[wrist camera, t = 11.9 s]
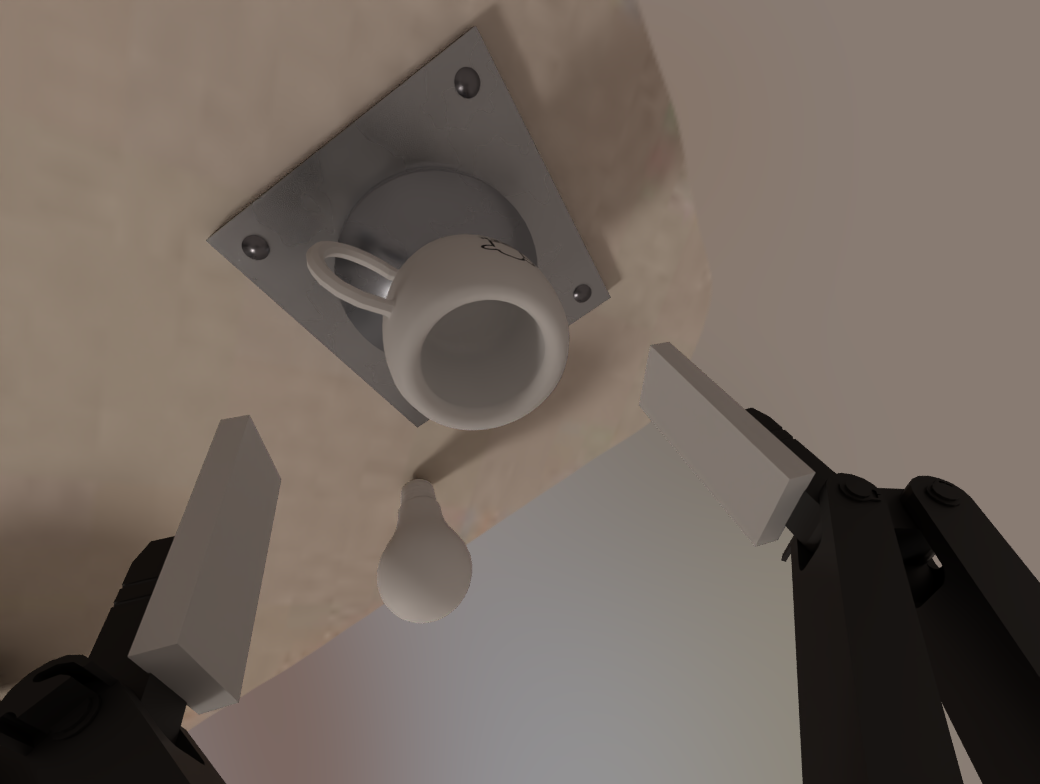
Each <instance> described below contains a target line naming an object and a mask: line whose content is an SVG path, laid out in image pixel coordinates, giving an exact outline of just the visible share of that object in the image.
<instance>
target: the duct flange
mask: <svg viewBox="0 0 1040 784" xmlns="http://www.w3.org/2000/svg"><path fill="white" fill-rule="evenodd" d="M459 234H472V235H481V236H485V237H489V238H493V239H496V240H498V241H501V242H503V243H505V244H508V245H510V246H511V247H513V248H514V249H516V250H517V251H519V252H520V253H522V254H523V255H525V256H526V257H527V258H528V259H529V260H530V261H531V262H532V263H533V264H534V265H535V266H536V267H537V268H538V269H539V270H540V271H541V272H542V273H543V275H544V276H545V277H546V279H547V280H548V281H549V283H550V284H551V286H552V287H553V289H554V290H555V292H556V294H557V296H558V298H559V300H560V302H561V304H562V307H563V309H564V311H565V315H566V318H567V321H568V326H569V325H571V324H572V323H574V322H575V321H576V320H578V319H579V318H581V317H582V316H584V315H585V314H587V313H588V312H590V311H591V310H593V309H594V308H596V307H597V306H599V305H600V304H602V303H603V302H605V301H606V300H608V299H609V298H611V297H610V295H609V293H608V291H607V289H606V287H605V285H604V283H603V281H602V279H601V277H600V275H599V273H598V271H597V269H596V267H595V265H594V263H593V261H592V259H591V257H590V255H589V253H588V251H587V249H586V247H585V245H584V243H583V241H582V239H581V237H580V235H579V233H578V231H577V228H576V226H575V224H574V222H573V220H572V218H571V216H570V214H569V212H568V210H567V208H566V206H565V204H564V202H563V200H562V198H561V196H560V194H559V192H558V190H557V188H556V186H555V184H554V182H553V180H552V178H551V176H550V174H549V172H548V170H547V168H546V166H545V164H544V162H543V160H542V158H541V156H540V154H539V152H538V150H537V148H536V146H535V144H534V142H533V140H532V138H531V136H530V134H529V132H528V130H527V128H526V126H525V124H524V122H523V120H522V118H521V116H520V114H519V112H518V110H517V108H516V106H515V104H514V102H513V100H512V98H511V96H510V94H509V92H508V90H507V88H506V86H505V84H504V82H503V80H502V78H501V76H500V74H499V72H498V70H497V68H496V66H495V64H494V62H493V60H492V58H491V56H490V54H489V52H488V50H487V47H486V45H485V43H484V41H483V39H482V37H481V35H480V33H479V31H478V29H477V27H476V26H474V27H472V28H471V29H469V30H468V31H467V32H466V33H464V34H463V35H462V36H461V37H459V38H458V39H457V40H455V41H454V42H453V43H452V44H450V45H449V46H448V47H447V48H445V49H444V50H443V51H442V52H440V53H439V54H438V55H437V56H435V57H434V58H433V59H432V60H430V61H429V62H428V63H427V64H425V65H424V66H423V67H422V68H420V69H419V70H418V71H417V72H415V73H414V74H413V75H412V76H410V77H409V78H408V79H407V80H405V81H404V82H403V83H402V84H400V85H399V86H398V87H396V88H395V89H394V90H393V91H391V92H390V93H389V94H388V95H386V96H385V97H384V98H383V99H381V100H380V101H379V102H378V103H376V104H375V105H374V106H373V107H371V108H370V109H369V110H368V111H366V112H365V113H364V114H363V115H361V116H360V117H359V118H358V119H356V120H355V121H354V122H353V123H351V124H350V125H349V126H348V127H346V128H345V129H344V130H343V131H341V132H340V133H339V134H337V135H336V136H335V137H334V138H332V139H331V140H330V141H329V142H327V143H326V144H325V145H324V146H322V147H321V148H320V149H319V150H317V151H316V152H315V153H314V154H312V155H311V156H310V157H309V158H307V159H306V160H305V161H304V162H302V163H301V164H300V165H299V166H297V167H296V168H295V169H294V170H292V171H291V172H290V173H289V174H287V175H286V176H285V177H284V178H282V179H281V180H280V181H278V182H277V183H276V184H275V185H273V186H272V187H271V188H270V189H268V190H267V191H266V192H265V193H263V194H262V195H261V196H260V197H258V198H257V199H256V200H255V201H253V202H252V203H251V204H250V205H248V206H247V207H246V208H245V209H243V210H242V211H241V212H240V213H238V214H237V215H236V216H235V217H233V218H232V219H231V220H230V221H228V222H227V223H226V224H225V225H223V226H222V227H221V228H220V229H218V230H217V231H216V232H214V233H213V234H212V235H211V236H210V237H209V238H208V239H207V240H206V241H207V242H208V243H209V244H210V245H211V246H212V247H214V248H215V249H216V250H217V251H218V252H219V253H220V254H222V255H223V256H224V257H225V258H226V259H227V260H228V261H229V262H231V263H232V264H233V265H234V266H235V267H236V268H237V269H239V270H240V271H241V272H242V273H243V274H244V275H245V276H246V277H248V278H249V279H250V280H251V281H252V282H253V283H254V284H256V285H257V286H258V287H259V288H260V289H261V290H262V291H263V292H265V293H266V294H267V295H268V296H269V297H270V298H271V299H272V300H274V301H275V302H276V303H277V304H278V305H279V306H280V307H282V308H283V309H284V310H285V311H286V312H287V313H288V314H289V315H291V316H292V317H293V318H294V319H295V320H296V321H297V322H299V323H300V324H301V325H302V326H303V327H304V328H305V329H306V330H308V331H309V332H310V333H311V334H312V335H313V336H314V337H316V338H317V339H318V340H319V341H320V342H321V343H322V344H323V345H325V346H326V347H327V348H328V349H329V350H330V351H331V352H333V353H334V354H335V355H336V356H337V357H338V358H339V359H340V360H342V361H343V362H344V363H345V364H346V365H347V366H348V367H349V368H351V369H352V370H353V371H354V372H355V373H356V374H357V375H359V376H360V377H361V378H362V379H363V380H364V381H365V382H366V383H368V384H369V385H370V386H371V387H372V388H373V389H374V390H376V391H377V392H378V393H379V394H380V395H381V396H382V397H383V398H385V399H386V400H387V401H388V402H389V403H390V404H391V405H393V406H394V407H395V408H396V409H397V410H398V411H399V412H400V413H402V414H403V415H404V416H405V417H406V418H407V419H408V420H409V421H411V422H412V423H413V424H414V425H415V426H416V427H419V426H420V425H422V424H423V423H425V422H426V421H428V420H429V418H427V417H426V416H424V415H423V414H422V413H420V412H419V411H418V410H416V409H415V408H414V407H413V406H412V405H411V404H410V403H409V402H408V401H407V400H406V399H405V398H404V397H403V396H402V394H401V393H400V391H399V390H398V388H397V387H396V385H395V383H394V380H393V378H392V375H391V373H390V370H389V367H388V364H387V361H386V356H385V352H384V345H383V332H382V323H383V315H382V314H378V313H375V312H372V311H368V310H365V309H362V308H359V307H356V306H354V305H352V304H350V303H348V302H346V301H344V300H342V299H340V298H338V297H336V296H335V295H333V294H332V293H331V292H329V291H328V290H327V289H325V288H324V287H323V286H321V285H320V284H319V283H318V282H317V280H316V279H315V278H314V277H313V276H312V275H311V273H310V271H309V269H308V267H307V260H306V253H307V251H308V249H309V248H310V247H311V246H313V245H314V244H315V243H317V242H320V241H334V242H339V243H343V244H347V245H350V246H353V247H356V248H359V249H361V250H363V251H366V252H368V253H370V254H372V255H374V256H376V257H378V258H380V259H382V260H383V261H385V262H387V263H388V264H390V265H391V266H393V267H395V268H396V269H398V270H399V269H400V268H401V267H402V266H403V264H404V263H405V262H406V261H407V259H408V258H410V257H411V256H412V255H413V254H414V253H415V252H416V251H417V250H419V249H420V248H422V247H423V246H425V245H426V244H428V243H430V242H432V241H434V240H436V239H439V238H442V237H446V236H450V235H459ZM324 260H325V262H326V264H327V266H328V267H329V268H330V270H331V271H332V272H333V273H334V274H335V275H336V276H338V277H339V278H340V279H341V280H343V281H344V282H346V283H348V284H350V285H352V286H354V287H356V288H358V289H360V290H362V291H364V292H367V293H370V294H373V295H376V296H379V297H382V298H385V299H386V297H387V294H388V291H389V288H390V286H391V283H392V281H391V280H388V279H386V278H385V277H383V276H382V275H380V274H378V273H377V272H375V271H373V270H371V269H369V268H367V267H365V266H363V265H360V264H358V263H356V262H353V261H350V260H347V259H344V258H340V257H327V258H325V259H324Z"/></svg>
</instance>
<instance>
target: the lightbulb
mask: <svg viewBox="0 0 1040 784" xmlns="http://www.w3.org/2000/svg"><path fill="white" fill-rule="evenodd" d="M471 576H472V561H471V556H470V553H469V551H468V549H467V547H466V545H465V543H464V541H463V540H462V539H461V538H460V537H459V535H458V534H457V533H456V532H455V531H454V530H453V529H452V528H451V527H450V526H449V525H448V524H447V523H446V521H445V520H444V517H443V515H442V512H441V507H440V505H439V503H438V502H437V501H436V497H435V492H434V489H433V485H432V484H431V483H430V482H429V481H427V480H424V479H414V480H411V481H409V482H407V483H406V484H405V485H404V486H403V487H402V490H401V506H400V508H399V511H398V522H397V527H396V530H395V533H394V535H393V537H392V538H391V540H390V541H389V543H388V544H387V546H386V548H385V550H384V552H383V554H382V555H381V558H380V561H379V565H378V569H377V585H378V589H379V593H380V595H381V598H382V600H383V602H384V604H385V605H386V606H387V607H388V608H389V609H390V611H391V612H392V613H394V614H395V615H396V616H398V617H399V618H401V619H403V620H405V621H409V622H413V623H428V622H433V621H436V620H439V619H441V618H443V617H445V616H447V615H448V614H449V613H451V612H452V611H453V610H454V609H456V607H458V605H459V604H460V603H461V601H462V600H463V598H464V597H465V594H466V593H467V591H468V588H469V586H470V581H471Z"/></svg>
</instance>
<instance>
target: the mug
mask: <svg viewBox="0 0 1040 784" xmlns="http://www.w3.org/2000/svg"><path fill="white" fill-rule="evenodd" d="M327 257H340V258H344V259H347V260H350V261H353V262H356V263H358V264H360V265H363V266H365V267H367V268H369V269H371V270H373V271H375V272H377V273H378V274H380V275H382V276H383V277H385V278H386V279H388V280H391V281H392V283H391V286H390V288H389V291H388V294H387V297H386V299H385V298H382V297H379V296H376V295H373V294H370V293H367V292H364V291H362V290H360V289H358V288H356V287H354V286H352V285H350V284H348V283H346V282H344V281H343V280H341V279H340V278H339V277H338V276H336V275H335V274H334V273H333V272H332V271H331V270H330V268H329V267H328V266H327V264H326V262H325V260H324V259H325V258H327ZM306 260H307V267H308V269H309V271H310V273H311V275H312V276H313V277H314V278H315V279H316V280H317V282H318V283H319V284H320V285H321V286H323V287H324V288H325V289H327V290H328V291H329V292H331V293H332V294H333V295H335V296H336V297H338V298H340V299H342V300H344V301H346V302H348V303H350V304H352V305H354V306H356V307H359V308H362V309H365V310H368V311H372V312H375V313H378V314H382V315H383V323H382V332H383V345H384V352H385V356H386V361H387V364H388V367H389V370H390V373H391V375H392V378H393V380H394V383H395V385H396V387H397V388H398V390H399V391H400V393H401V394H402V396H403V397H404V398H405V399H406V400H407V401H408V402H409V403H410V404H411V405H412V406H413V407H414V408H415V409H416V410H418V411H419V412H420V413H422V414H423V415H424V416H426V417H427V418H429V419H431V420H432V421H434V422H436V423H438V424H441V425H444V426H447V427H450V428H455V429H460V430H485V429H491V428H496V427H500V426H503V425H506V424H509V423H511V422H514V421H516V420H518V419H520V418H522V417H524V416H525V415H527V414H529V413H530V412H531V411H533V410H534V409H535V408H537V407H538V406H539V405H540V404H541V403H542V402H543V401H544V400H545V399H547V398H548V396H549V395H550V394H551V393H552V391H553V390H554V389H555V387H556V386H557V384H558V382H559V380H560V379H561V376H562V374H563V371H564V369H565V366H566V361H567V357H568V349H569V326H568V321H567V318H566V315H565V311H564V309H563V307H562V304H561V302H560V300H559V298H558V296H557V294H556V292H555V290H554V289H553V287H552V286H551V284H550V283H549V281H548V280H547V279H546V277H545V276H544V275H543V273H542V272H541V271H540V270H539V269H538V268H537V267H536V266H535V265H534V264H533V263H532V262H531V261H530V260H529V259H528V258H527V257H526V256H525V255H523V254H522V253H520V252H519V251H517V250H516V249H514V248H513V247H511V246H510V245H508V244H505V243H503V242H501V241H498V240H496V239H493V238H489V237H485V236H481V235H472V234H459V235H450V236H446V237H442V238H439V239H436V240H434V241H432V242H430V243H428V244H426V245H425V246H423V247H422V248H420V249H419V250H417V251H416V252H415V253H414V254H413V255H412V256H411V257H410V258H408V259H407V261H406V262H405V263H404V264H403V266H402V267H401V268H400V269H399V270H398V269H396V268H395V267H393V266H391V265H390V264H388V263H387V262H385V261H383V260H382V259H380V258H378V257H376V256H374V255H372V254H370V253H368V252H366V251H363V250H361V249H359V248H356V247H353V246H350V245H347V244H343V243H339V242H334V241H320V242H317V243H315V244H314V245H313V246H311V247H310V248H309V249H308V251H307V253H306Z"/></svg>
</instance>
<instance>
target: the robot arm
mask: <svg viewBox="0 0 1040 784" xmlns="http://www.w3.org/2000/svg"><path fill="white" fill-rule="evenodd" d="M639 406H640V407H641V409H642V410H643V411H644V412H645V414H646V415H647V416H648V417H649V418H650V420H651V421H652V422H653V423H654V425H655V426H656V427H657V428H658V429H659V431H660V432H661V433H662V434H663V435H664V437H665V438H666V439H667V440H668V442H669V443H670V444H671V445H672V446H673V447H674V449H675V450H676V451H677V452H678V454H679V455H680V456H681V457H682V459H683V460H684V461H685V462H686V463H687V465H688V466H689V467H690V468H691V470H692V471H693V472H694V473H695V474H696V476H697V477H698V478H699V479H700V480H701V482H702V483H703V484H704V485H705V487H706V488H707V489H708V490H709V491H710V493H711V494H712V495H713V496H714V497H715V499H716V500H717V501H718V502H719V503H720V505H721V506H722V507H723V508H724V510H725V511H726V512H727V513H728V515H729V516H730V517H731V518H732V519H733V521H734V522H735V523H736V524H737V525H738V527H739V528H740V529H741V530H742V531H743V533H744V534H745V535H746V536H747V538H748V539H749V540H750V541H751V543H752V544H753V545H754V546H755V547H756V546H760V545H763V544H766V543H769V542H773V541H776V540H778V539H779V537H780V535H781V534H782V532H783V530H784V528H785V526H786V527H787V528H788V529H789V530H790V531H791V532H792V533H793V535H794V536H793V538H792V539H791V541H790V543H789V544H788V546H787V548H786V550H785V551H784V553H783V556H782V561H785V562H786V560H787V559H788V557H789V555H790V554H791V560H792V581H793V600H794V620H795V640H796V660H797V678H798V699H799V718H800V738H801V758H802V777H803V784H964V783H963V780H962V776H961V773H960V769H959V765H958V761H957V758H956V754H955V750H954V747H953V743H952V740H951V736H950V732H949V728H948V725H947V721H946V718H945V714H944V710H943V707H942V704H943V706H944V708H945V710H946V712H947V714H948V716H949V718H950V720H951V722H952V724H953V726H954V728H955V730H956V732H957V734H958V736H959V738H960V740H961V741H962V744H963V746H964V748H965V750H966V752H967V754H968V756H969V758H970V760H971V762H972V763H973V765H974V768H975V770H976V772H977V774H978V776H979V777H980V779H981V782H982V784H1040V582H1039V581H1038V580H1037V579H1036V577H1035V576H1034V575H1033V574H1032V573H1031V571H1030V570H1029V569H1028V568H1027V566H1026V565H1025V564H1024V563H1023V561H1022V560H1021V559H1020V558H1019V556H1018V555H1017V554H1016V553H1015V551H1014V550H1013V549H1012V548H1011V546H1010V545H1009V544H1008V543H1007V542H1006V540H1005V539H1004V538H1003V536H1002V535H1001V534H1000V533H999V532H998V530H997V529H996V528H995V527H994V525H993V524H992V523H991V522H990V520H989V519H988V518H987V517H986V516H985V514H984V513H983V512H982V511H981V509H980V508H979V507H978V505H977V504H976V503H975V502H974V501H973V499H972V498H971V497H970V496H969V495H967V494H966V493H965V492H964V491H963V490H962V489H960V488H959V487H957V486H955V485H954V484H952V483H950V482H947V481H945V480H942V479H940V478H936V477H931V476H917V477H915V478H913V479H912V480H911V481H910V482H909V484H908V485H907V486H906V488H905V489H889V488H888V489H887V488H877V487H875V485H873V484H872V483H870V482H868V481H867V480H865V479H863V478H860V477H858V476H855V475H852V474H844V473H838V474H836V473H835V472H833V471H832V470H831V469H830V468H829V467H827V466H826V465H825V464H824V463H823V462H822V461H821V460H819V459H818V458H817V457H816V456H815V455H814V454H812V453H811V452H810V451H809V450H808V449H807V448H805V447H804V446H803V445H802V444H801V443H800V442H798V441H797V440H796V439H793V437H792V436H791V435H790V434H789V433H788V432H787V431H785V430H783V429H782V427H781V426H780V425H778V424H777V423H776V422H775V421H774V420H773V419H772V418H770V417H769V416H767V415H765V414H763V413H761V412H760V411H757V410H756V409H754V408H749V409H744V408H743V407H742V406H740V405H739V404H738V403H737V402H736V401H735V400H734V399H733V398H731V397H730V396H729V395H728V394H727V393H726V392H725V391H724V390H723V389H721V388H720V387H719V386H718V385H717V384H716V383H715V382H714V381H712V380H711V379H710V378H709V377H708V376H707V375H706V374H705V373H703V372H702V371H701V370H700V369H699V368H698V367H697V366H696V365H694V364H693V363H692V362H691V361H690V360H689V359H688V358H687V357H686V356H684V355H683V354H682V353H681V352H680V351H679V350H678V349H677V348H675V347H674V346H673V345H672V344H671V343H670V342H666V343H660V344H654V345H650V349H649V354H648V360H647V365H646V370H645V376H644V381H643V386H642V392H641V397H640V402H639ZM280 483H281V477H280V475H279V473H278V471H277V469H276V467H275V465H274V463H273V461H272V459H271V457H270V455H269V453H268V451H267V449H266V447H265V445H264V443H263V441H262V439H261V437H260V435H259V433H258V431H257V429H256V427H255V425H254V423H253V421H252V419H251V417H250V415H246V416H240V417H234V418H229V419H223V420H220V423H219V425H218V428H217V431H216V433H215V436H214V438H213V441H212V443H211V446H210V448H209V451H208V453H207V456H206V458H205V461H204V464H203V466H202V469H201V471H200V474H199V476H198V479H197V481H196V484H195V486H194V489H193V492H192V494H191V497H190V499H189V502H188V504H187V507H186V509H185V512H184V514H183V517H182V519H181V522H180V525H179V527H178V530H177V532H176V535H175V536H173V537H169V538H164V539H160V540H155V541H151V542H150V543H149V544H148V545H147V546H146V548H145V549H144V550H143V551H142V552H141V553H140V554H139V556H138V557H137V558H136V559H135V560H134V561H133V562H132V564H131V566H130V568H129V571H128V573H127V575H126V577H125V579H124V582H123V584H122V586H123V588H122V589H120V590H119V592H118V595H117V597H116V599H115V601H114V607H112V608H111V610H110V612H109V614H108V616H107V619H106V621H105V623H104V625H103V627H102V630H101V632H100V634H99V636H98V638H97V640H96V643H95V645H94V647H93V649H92V651H91V654H90V656H89V658H87V657H85V656H84V655H67V656H64V657H61V658H58V659H55V660H52V661H49V662H48V663H46V664H44V665H43V666H41V667H39V668H38V669H36V670H34V671H32V672H31V673H29V674H28V675H27V676H26V677H25V678H23V679H22V680H21V681H20V682H19V683H18V684H16V685H15V686H14V687H13V688H12V689H11V690H10V691H9V692H8V693H7V695H6V696H5V697H4V698H3V700H2V701H1V702H0V745H1V746H0V784H226V783H225V782H224V780H223V779H222V778H221V776H220V775H219V774H218V772H217V771H216V770H215V768H214V767H213V766H212V764H211V763H210V761H209V760H208V759H207V757H206V756H205V755H204V753H203V752H202V751H201V749H200V748H199V747H198V745H197V744H196V743H195V741H194V740H193V739H192V737H191V736H190V735H189V733H188V732H187V731H186V730H185V729H184V728H183V727H181V723H182V719H183V715H184V712H185V708H186V705H188V706H189V707H190V708H191V709H193V710H194V711H195V712H196V713H198V714H203V713H206V712H209V711H213V710H216V709H219V708H223V707H226V706H229V705H232V704H236V703H239V699H240V694H241V688H242V683H243V678H244V673H245V667H246V662H247V657H248V652H249V646H250V641H251V636H252V631H253V625H254V620H255V615H256V610H257V604H258V599H259V594H260V589H261V583H262V578H263V573H264V568H265V562H266V557H267V552H268V546H269V541H270V536H271V531H272V525H273V520H274V515H275V510H276V504H277V499H278V494H279V489H280ZM935 554H936V556H937V558H938V559H939V561H940V562H941V564H942V567H940V568H939V567H938V566H937V565H936V564H935V562H934V561H933V559H932V557H933V556H934V555H935ZM941 702H942V703H941Z"/></svg>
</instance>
